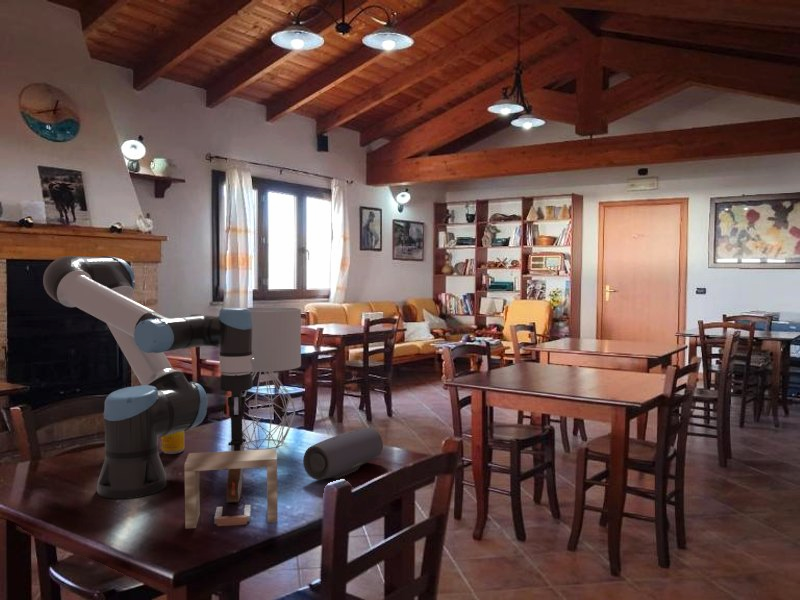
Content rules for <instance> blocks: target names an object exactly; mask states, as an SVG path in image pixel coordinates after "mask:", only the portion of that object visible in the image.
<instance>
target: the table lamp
mask: <svg viewBox="0 0 800 600" xmlns="http://www.w3.org/2000/svg"><path fill="white" fill-rule="evenodd" d="M247 308H248V309H249V310H250V311H251V317H252V325H253V327H252V357H251V358H254V359H255V362H251V363H252V371H250V373H252V375H253V380H255V377H256V375H257V373H259V374H258V375H259V376H258V381H257V385H256V391H255V392H254V393H253V394H252V395H250V396H249V397H248V398H245V406H246V407H248V409H249V410H250V411H251V413H252V416H251V415H249V414H248V413H247V412H245V411H244V415H247V416H248V417H250V418H251V419H252V421H251V422H250V424H249V425H248V426H247V425H246V421H245V417H244V416H243V417H242V421H243V423H244V425H245V429H244V430H242V434H243V437H242V438H243V439H246V442H243V448H247V449H249V450H261V448H260V447H261V446H262V445H263V443H264V442H265V440H266V441H267V447H266V448H264V449H277V448H279V447H281V446H283V445H284V442H285V440H286V439H287V436H288V433H289V431H290V429H291V427H292V424H293V423H294V419H295V417H296V408H295V403H294V401H293V399H292V396H291V393H290V392H289V391H288V389H286V388H285V387H286V386H284V385H283V383H282V382H281V381H280V379H279V378H278V377H277V375H276V374H275V372H281V371H282V372H284V371H290V370H294V369H299V368H301V366H302V335H301V334H302V328H301V327H302V326H301V325H302V321H301V319H302V318H301V317H302V316H301V314H302V312H301V311H302V309H301V308H297V307H280V306H279V307H277V306H275V307H274V306H273V307H272V306H271V307H270V306H269V307H268V306H267V307H266V306H265V307H261V306H259V307H257V306H255V307H247ZM261 373H263V374H264V379H265V384H266V385H265V386H266V392H267V396H265V394H262V393H261V392H259V386H260V380H261V375H262V374H261ZM268 374H269V376H270V378H271V380H272V382H273V384H274V386H275V389H276V391H277V392H278V395H276V396H275V397H274V398H273V395H272V390H271V385H270V381H269V378H268ZM277 386H278V387H277ZM268 387H269V388H268ZM281 387H282V388H281ZM282 389H283V390H282ZM279 390H280V391H279ZM248 391H249V390H246V391H244V394H243V396H245V397H246V395H247V393H248ZM283 391H284V392H285V393H284V392H283ZM269 392H270V395H269ZM258 393H259V395H261V396H263V397H264V398H266V399H268V401H267V402H265V403H264V404H262V405H261V406H260V407H258V405H257V404H258ZM281 394H282V395H281ZM254 395H255V397H254V401H253V410H252V409H251V407H249V405H248V404H247V403H246V402H247V401H248V400H249V399H251V398H252V396H254ZM277 397H280V399H281V401H282V404H283V408H282V407H281V406H280V405H278V404H276V403H275V402H273V401H274V400H275V399H277ZM286 398H287V401H286ZM289 401H290V403H291V405H292V407H293V412H292V413H290V415H288V416H287V411H288V409H287V408H288V404H289ZM268 403H269V410H268V411H267V412H265V413H264V414H263V416H261V417H260V418H259V419H258V412H259V410H260V409H261V408H263V407H264V406H265V405H267V404H268ZM274 405H275V406H276V407H278V408H279V409H282V410H283V411H284V414H283V418H281V417H280V416H279V414H278V413H277V412H276V409H274V407H273V406H274ZM257 407H258V409H257ZM273 411H274V413H275V414H276V416H277V417H278V418H279V420H280V421H281V422H279V424H278V425H276V426H274V428H273V429H272V428H271V427H272V418H273ZM255 413H256V418H255ZM268 413H269V414H270V415H269V416H270V417H269V419H270V421H269V422H270V423H269V430H267V429H266V428H264V427H263V426H262V425H261V424H260V422H259V421H260V420H261V419H263V417H264V416H265V415H266V414H268ZM290 417H291V419H290V422H289V421H288V419H289V418H290ZM229 418H230V419H231V417H230V416H229ZM255 421H256V422H255ZM286 422H287V425H288V427H287V428H286V431H285V433H284V429H285V426H286ZM251 425H252V426H253V430H252V431H253V432H252V435H251V437H250V434H249V430H248V428H249V427H250V426H251ZM259 427H260V428H261V430H262V431H263V433H264V435H265V438H263V439H261V438H260V431H259ZM256 428H257V433H258V439H257V435H256V434H257V433H256ZM271 429H272V430H271ZM278 429H279V431H278V435H277V438H276V440H277V442H275V441H276V440H275V439H274V437H273V435H275V434H276V432H277V430H278ZM245 431H246V432H247V434H246V433H245ZM273 431H274V432H273ZM266 432H267V433H268V434H267V433H266ZM272 432H273V433H272ZM271 433H272V434H271ZM283 434H284V435H283ZM253 436H254V439H253ZM271 438H272V439H271ZM252 439H253V440H252ZM247 440H248V441H247ZM258 441H261V443H260V444H259V445H258ZM270 441H273V443H274V446H273V447H269V446H270V444H269V443H270ZM254 442H255V444H254ZM249 443H251V444H252V445H253V447H255V448H253V447H249ZM276 443H277V444H276ZM246 445H247V446H246Z"/></svg>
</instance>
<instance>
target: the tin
mask: <svg viewBox="0 0 800 600" xmlns="http://www.w3.org/2000/svg"><path fill="white" fill-rule="evenodd" d="M243 472H244V468H239V469H228V473H227V481H226V482H227V483H226V500H225V501H226V503H239V502H240V498H241V494H242V491H243V481H244V475H243Z"/></svg>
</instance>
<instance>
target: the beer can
mask: <svg viewBox="0 0 800 600" xmlns="http://www.w3.org/2000/svg"><path fill="white" fill-rule="evenodd" d="M184 449H185V431H181V432H177V433H174V434H170V435H166V436H163V437H161V451H163V453H164V454H166V455H174V454H175V455H176V454H180V453H182V452H183V451H184Z"/></svg>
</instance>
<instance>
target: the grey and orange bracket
mask: <svg viewBox="0 0 800 600" xmlns="http://www.w3.org/2000/svg"><path fill="white" fill-rule="evenodd" d="M251 507H252V506H251V504H244V510H243V514H238V515H225V516H223V509H224V507H223V506H216V509H215V514H214V522H213V523H214V525H216V526H217V527H228V526H241V525H243V526H244V525H247V524H248V523H250V522H251V511H252V509H251Z"/></svg>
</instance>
